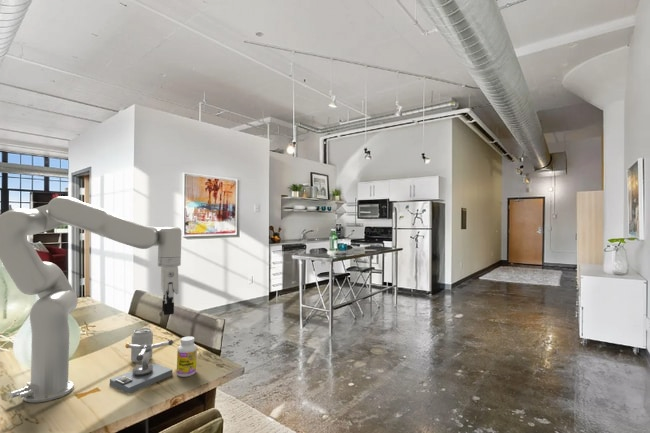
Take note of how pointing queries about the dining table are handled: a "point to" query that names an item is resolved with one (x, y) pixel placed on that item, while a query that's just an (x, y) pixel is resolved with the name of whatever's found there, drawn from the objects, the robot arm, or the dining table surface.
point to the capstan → (145, 357)
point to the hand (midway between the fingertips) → (167, 312)
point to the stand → (140, 379)
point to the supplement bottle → (186, 357)
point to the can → (141, 342)
